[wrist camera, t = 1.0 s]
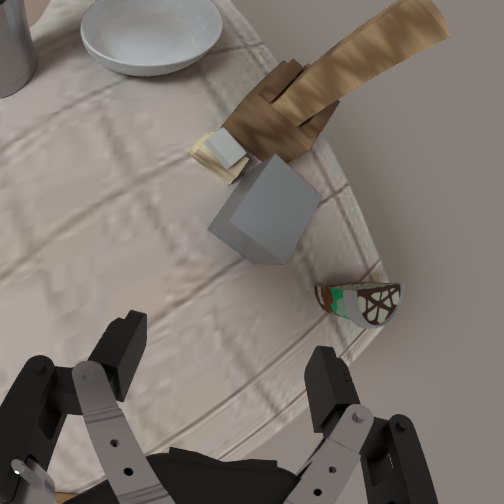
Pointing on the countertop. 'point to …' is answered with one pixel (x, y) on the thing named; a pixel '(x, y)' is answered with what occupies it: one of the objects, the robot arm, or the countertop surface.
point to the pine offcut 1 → (192, 152)
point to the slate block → (267, 213)
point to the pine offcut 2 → (217, 165)
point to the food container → (362, 301)
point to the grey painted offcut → (224, 148)
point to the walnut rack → (275, 119)
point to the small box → (63, 497)
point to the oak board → (363, 56)
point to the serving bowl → (150, 34)
